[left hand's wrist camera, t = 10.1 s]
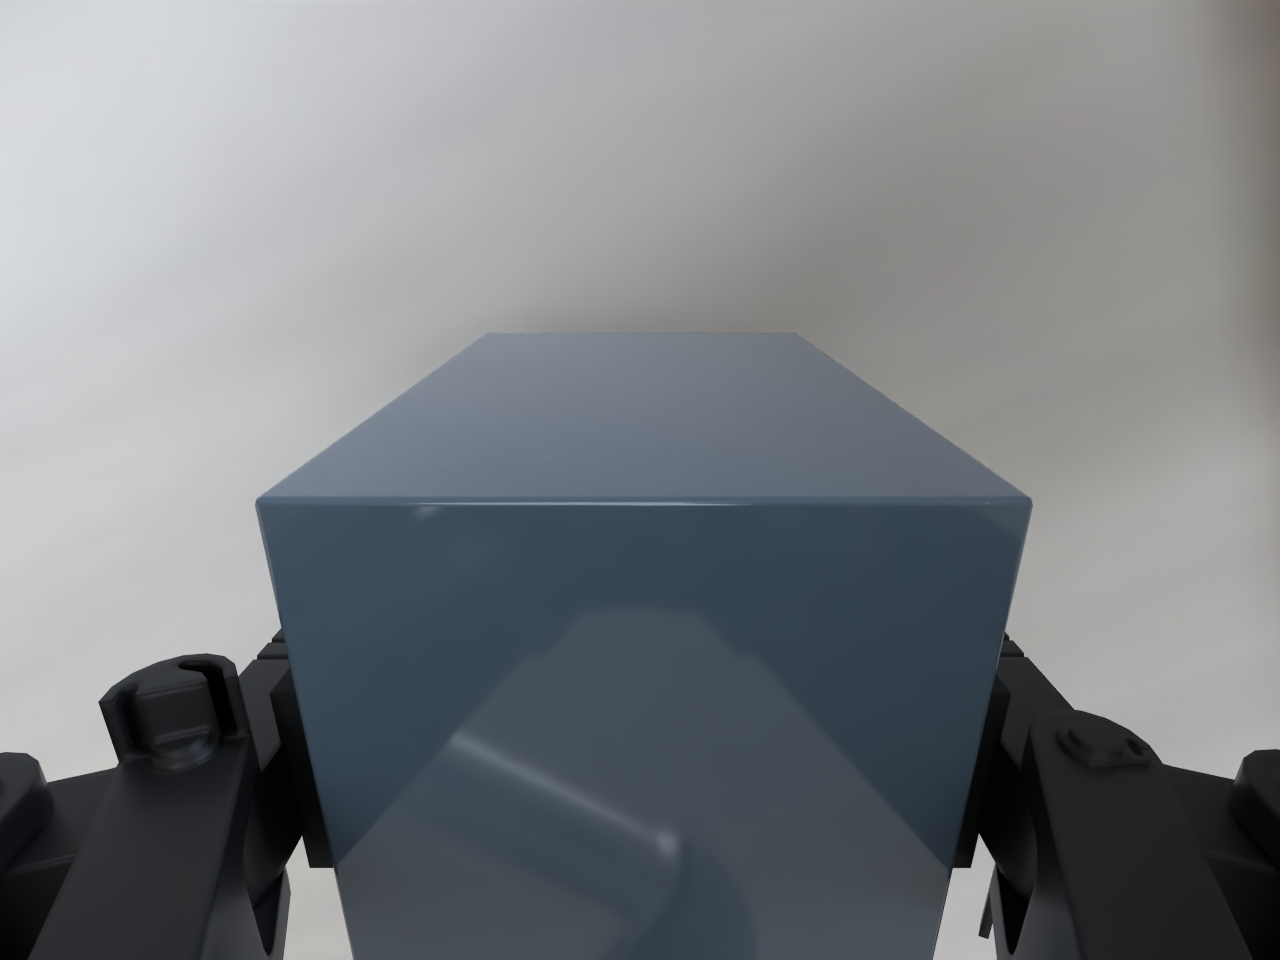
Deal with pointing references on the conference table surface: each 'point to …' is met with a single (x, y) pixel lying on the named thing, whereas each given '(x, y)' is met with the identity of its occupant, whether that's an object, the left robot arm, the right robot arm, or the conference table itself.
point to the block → (643, 653)
